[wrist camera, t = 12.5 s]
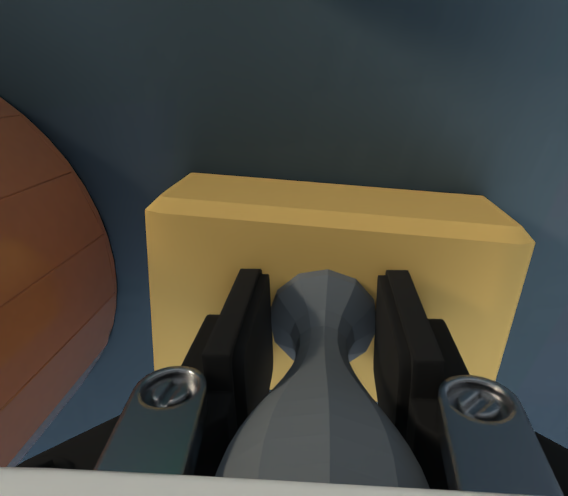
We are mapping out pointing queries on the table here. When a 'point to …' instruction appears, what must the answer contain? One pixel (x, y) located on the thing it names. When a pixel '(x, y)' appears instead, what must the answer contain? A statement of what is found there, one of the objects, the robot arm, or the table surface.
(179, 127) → the table surface
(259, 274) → the robot arm
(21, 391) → the terracotta mug
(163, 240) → the rubber stamp
